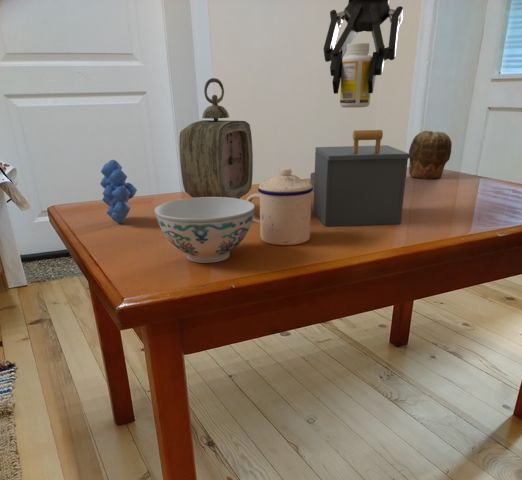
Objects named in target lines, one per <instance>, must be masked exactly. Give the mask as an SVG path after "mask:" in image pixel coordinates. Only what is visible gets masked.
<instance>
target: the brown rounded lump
mask: <svg viewBox="0 0 522 480" xmlns="http://www.w3.org/2000/svg"><path fill="white" fill-rule="evenodd" d="M452 145H453V143H452V140H451V137H450V136H449V135H448V134H447V133H446V132H443V131H433V130H422V131H420V132H419V133H418V134H416V135H415V136H414V137H413V139H412V141H411V143H410V146H409V149H408V153H409V154H410V158H408V160H409V163H408V173H409V175H410V177H411V178H417V179H422V180H423V179H424V180H435V179H434V178H437V179H441V177H442V176H443V173H444V169H445V166H446V164H447V163H448V162H449V161H450V158H451V154H452Z"/></svg>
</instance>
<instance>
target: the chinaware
mask: <svg viewBox="0 0 522 480" xmlns="http://www.w3.org/2000/svg"><path fill="white" fill-rule="evenodd" d="M255 206H256V205H255V204H254V203H253V202H252V201H251V202H249V201H247V199H243V198H240V199H237V198H228V197H198V198H193V197H190V198H189V197H188V198H181V199H176V200H175V199H174V200H170V201H167V202H163V203H161V204H159V205H157V206H156V207H155V208H154V214H155V217H156V220H157V224H158V225H159V227H160V229H161V231H162V233H163V235H164V236H165V238H166V239H167V240H168V241H169V242H170V243H171V244H172V245H173V246H174V247H175V248H176V249H178V250H179V251H180V252H183V253H184V254H186V259H187V260H188V261H191V262H194V263H198V264H199V263H201V264H209V263H211V264H213V263H218V262H223V261H225V260H227V259H228V258H230V256H231V254H230V252H231V251H233V250H234V249H236V248H237V247H238V246H239V245H240V244H241V243H242V242H243V240H244V239H245V238H246V236H247V235H248V232H249V230H250V228H251V225H252V223H253V215H255V209H256V207H255Z"/></svg>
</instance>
